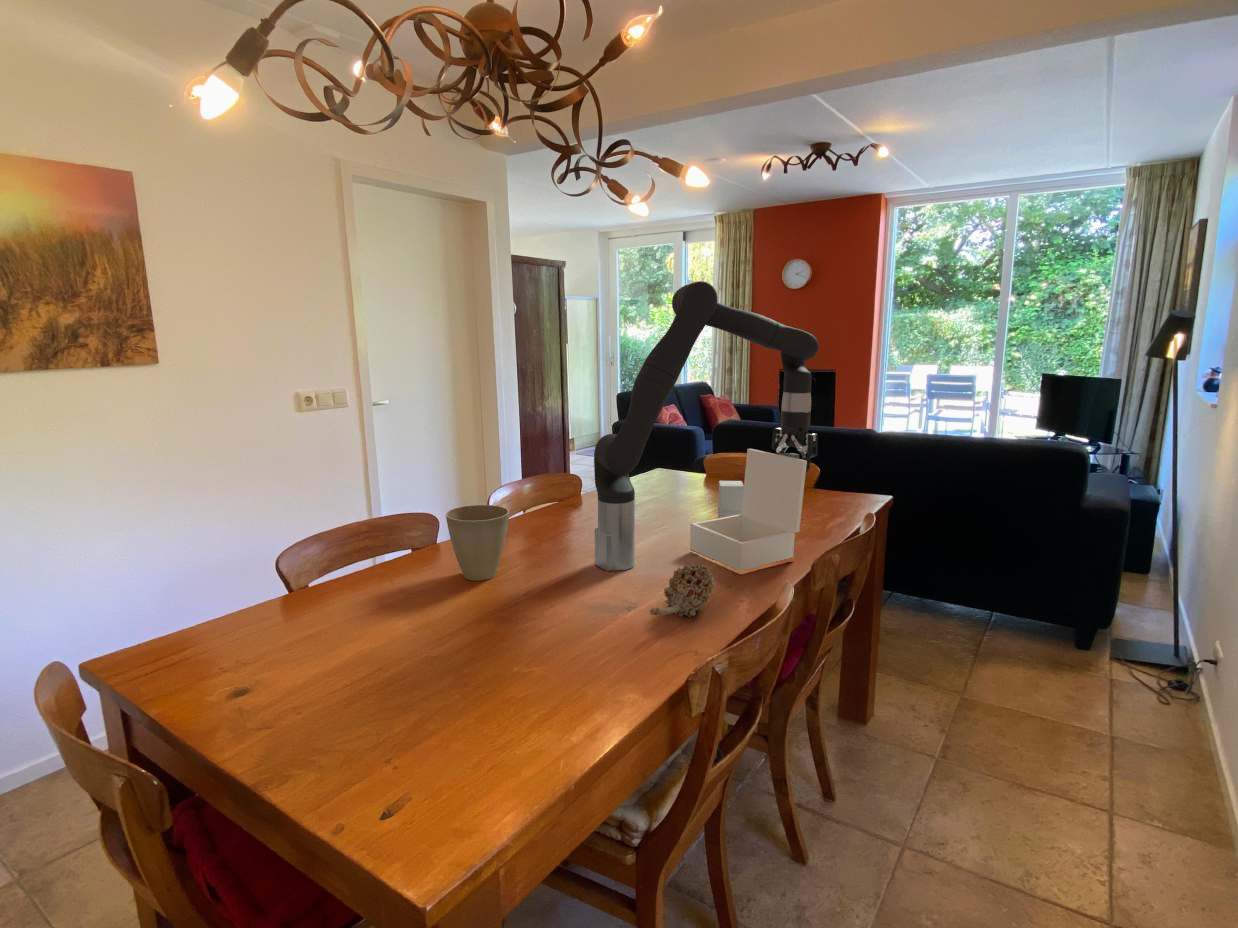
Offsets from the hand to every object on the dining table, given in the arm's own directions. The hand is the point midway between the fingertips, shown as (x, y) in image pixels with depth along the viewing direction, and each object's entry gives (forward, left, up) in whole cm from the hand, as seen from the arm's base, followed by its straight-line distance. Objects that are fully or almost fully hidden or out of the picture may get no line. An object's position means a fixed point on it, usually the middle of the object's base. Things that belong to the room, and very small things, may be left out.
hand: (792, 468), depth 177 cm
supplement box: (+1, +26, -22) cm, 34 cm away
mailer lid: (-8, 0, -5) cm, 9 cm away
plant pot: (-81, +23, -22) cm, 87 cm away
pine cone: (-54, -22, -22) cm, 62 cm away
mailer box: (-18, 0, -22) cm, 28 cm away
